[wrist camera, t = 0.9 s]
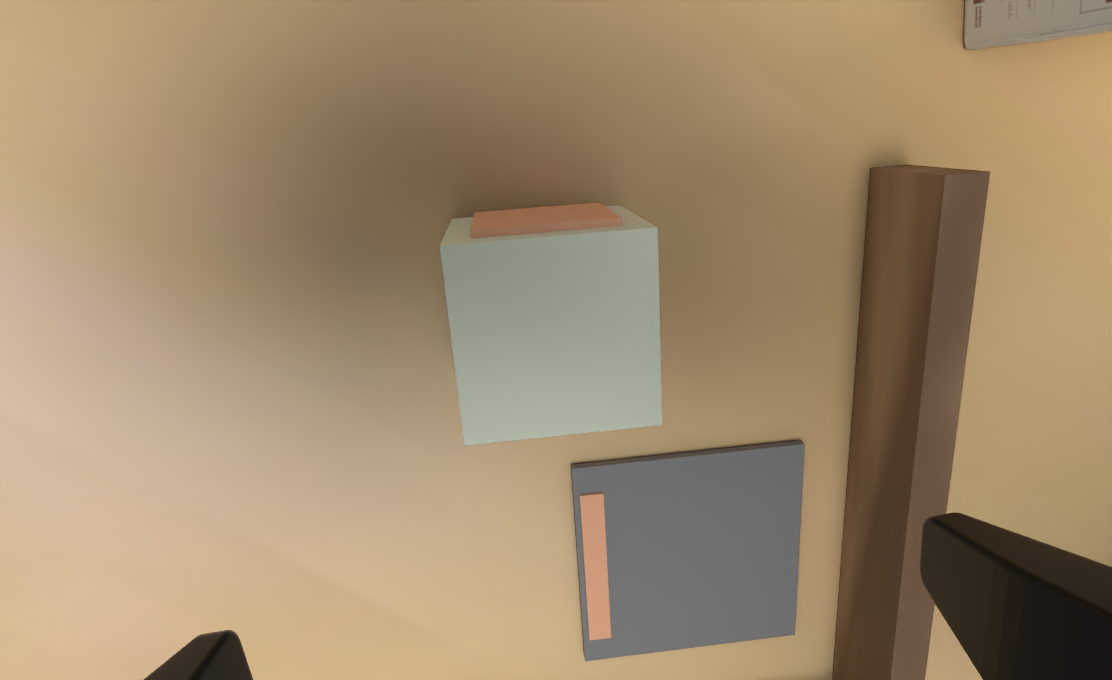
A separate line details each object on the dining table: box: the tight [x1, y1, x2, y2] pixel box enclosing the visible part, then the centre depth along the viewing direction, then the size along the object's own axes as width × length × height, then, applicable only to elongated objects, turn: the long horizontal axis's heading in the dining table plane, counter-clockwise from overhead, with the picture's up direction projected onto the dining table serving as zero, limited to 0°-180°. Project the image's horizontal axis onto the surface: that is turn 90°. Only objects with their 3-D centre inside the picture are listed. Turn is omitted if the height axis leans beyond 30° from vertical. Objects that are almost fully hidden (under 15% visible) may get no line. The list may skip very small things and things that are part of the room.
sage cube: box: [440, 202, 662, 446], centre depth 18 cm, size 5×5×5 cm
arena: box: [833, 165, 990, 680], centre depth 21 cm, size 16×22×4 cm
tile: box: [571, 440, 804, 661], centre depth 24 cm, size 8×8×1 cm
